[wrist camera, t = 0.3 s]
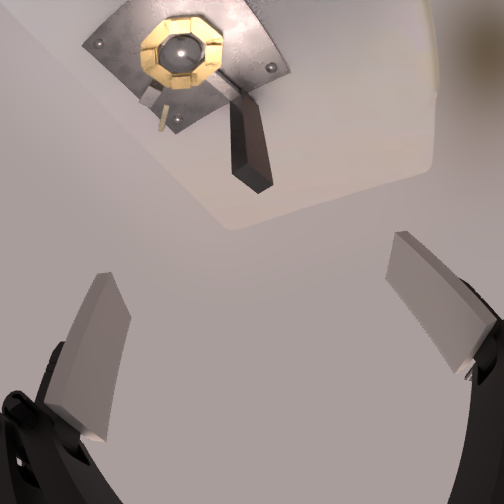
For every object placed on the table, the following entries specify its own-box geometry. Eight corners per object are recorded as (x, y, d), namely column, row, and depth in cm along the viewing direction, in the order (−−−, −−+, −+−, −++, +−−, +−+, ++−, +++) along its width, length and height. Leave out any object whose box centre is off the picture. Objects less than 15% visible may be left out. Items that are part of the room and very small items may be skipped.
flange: (77, 51, 23) (62, 62, 21) (203, -48, 15) (200, -52, 12) (168, 136, 40) (164, 152, 38) (289, 70, 32) (295, 81, 29)
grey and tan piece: (131, 55, 26) (78, 117, 17) (183, 2, 20) (147, 24, 12) (228, 127, 39) (229, 211, 30) (280, 90, 33) (306, 165, 25)
